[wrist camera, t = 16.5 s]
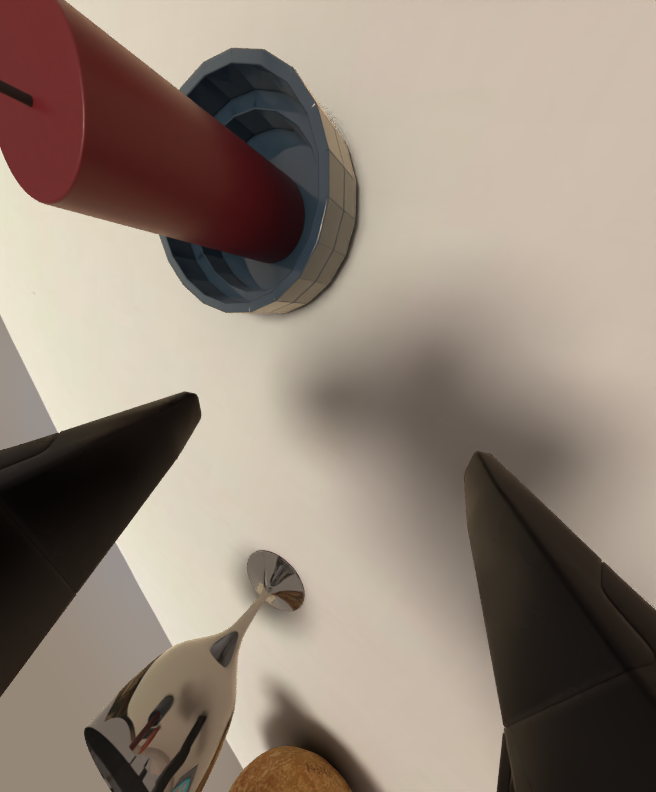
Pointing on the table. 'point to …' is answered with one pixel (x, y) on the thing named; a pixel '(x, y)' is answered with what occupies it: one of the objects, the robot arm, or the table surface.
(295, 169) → the bowl
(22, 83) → the candle
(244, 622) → the wine glass
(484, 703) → the table surface
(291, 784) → the ceramic vessel
